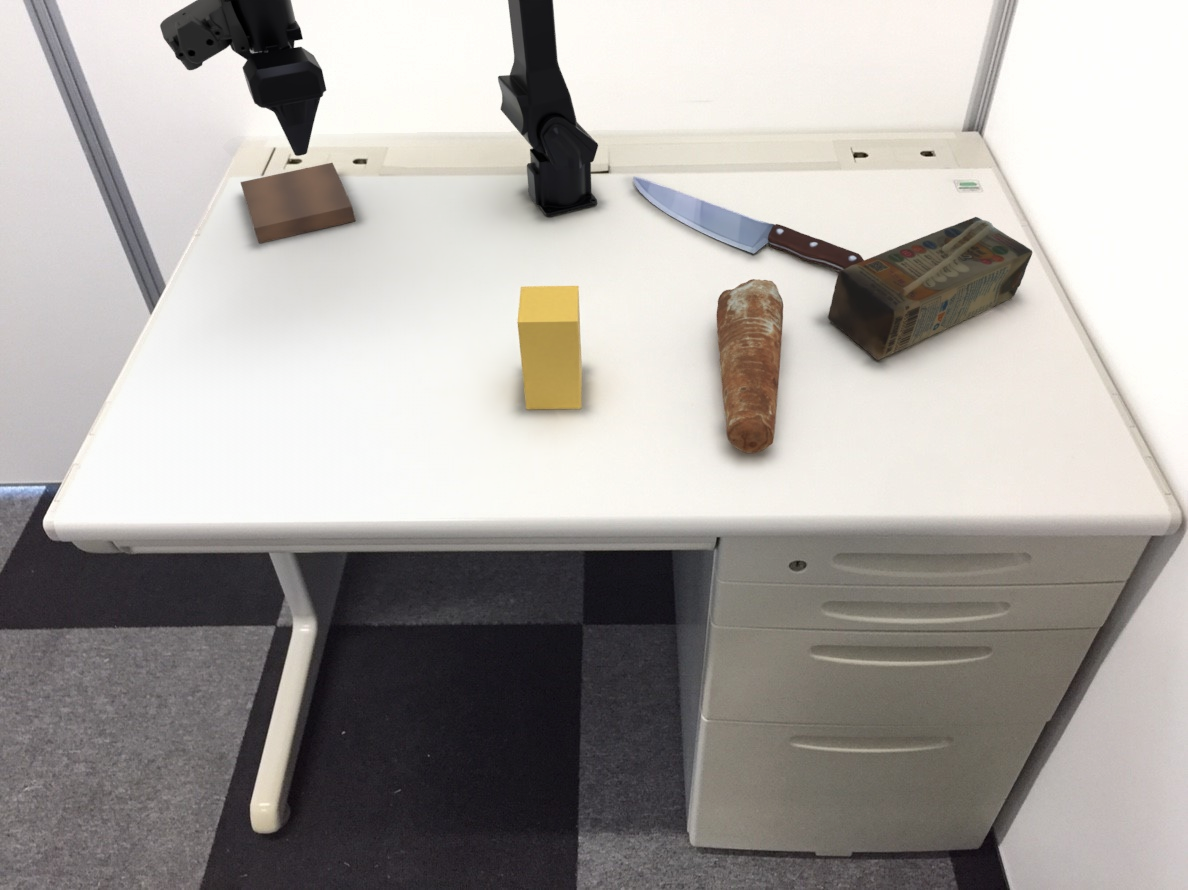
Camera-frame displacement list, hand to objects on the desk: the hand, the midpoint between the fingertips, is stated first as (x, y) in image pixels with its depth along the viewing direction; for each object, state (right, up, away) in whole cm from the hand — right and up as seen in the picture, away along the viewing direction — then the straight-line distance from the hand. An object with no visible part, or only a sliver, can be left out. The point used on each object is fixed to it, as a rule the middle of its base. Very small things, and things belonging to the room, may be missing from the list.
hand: (291, 133), depth 90 cm
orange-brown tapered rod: (+44, -25, -5) cm, 51 cm away
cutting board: (-5, -3, +18) cm, 19 cm away
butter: (+26, -26, -5) cm, 37 cm away
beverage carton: (+63, -17, +2) cm, 65 cm away
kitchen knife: (+46, -6, +13) cm, 48 cm away
